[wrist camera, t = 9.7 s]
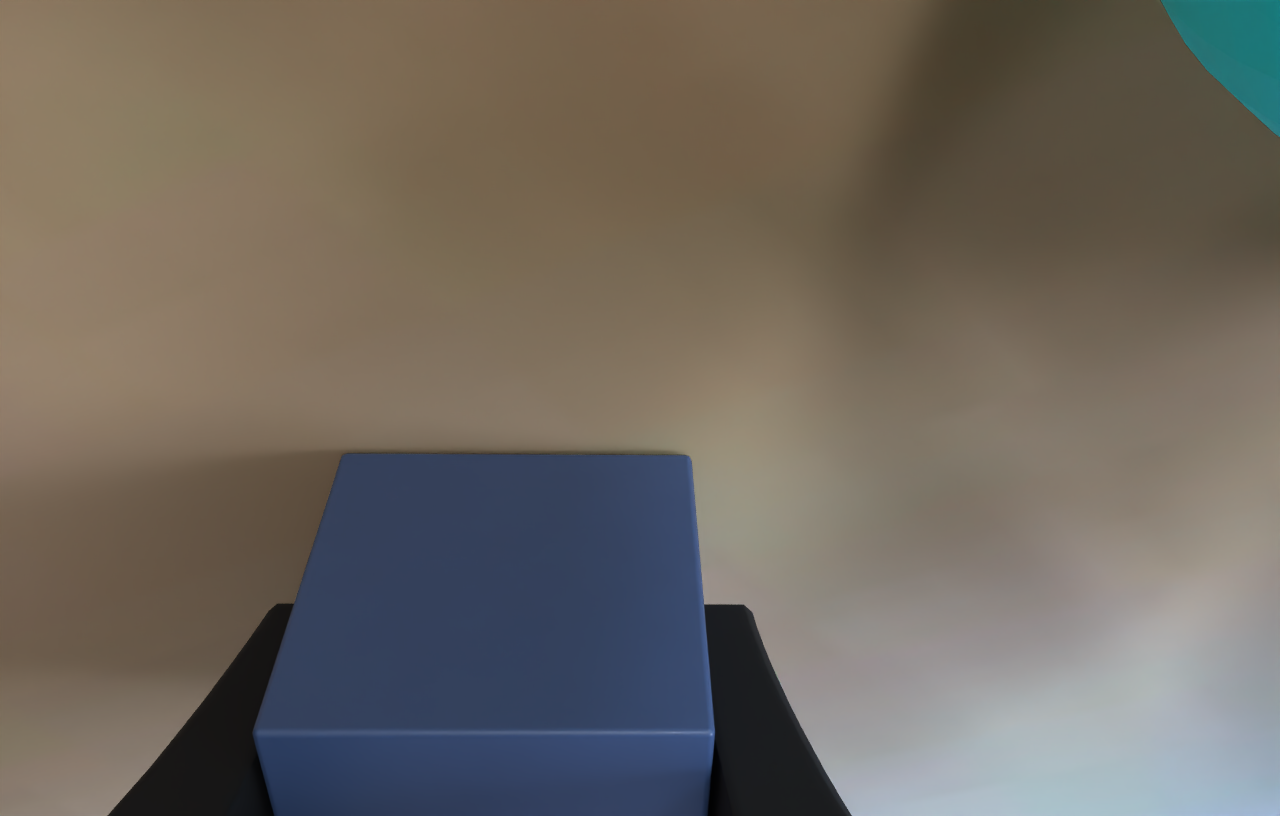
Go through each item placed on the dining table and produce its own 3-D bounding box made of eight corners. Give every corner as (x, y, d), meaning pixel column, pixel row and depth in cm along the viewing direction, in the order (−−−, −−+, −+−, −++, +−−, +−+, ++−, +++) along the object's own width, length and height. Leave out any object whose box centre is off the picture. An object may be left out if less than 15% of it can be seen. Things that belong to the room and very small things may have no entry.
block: (678, 689, 15) (694, 981, 12) (380, 688, 15) (315, 982, 12) (691, 453, 13) (715, 733, 10) (340, 450, 13) (248, 733, 10)
